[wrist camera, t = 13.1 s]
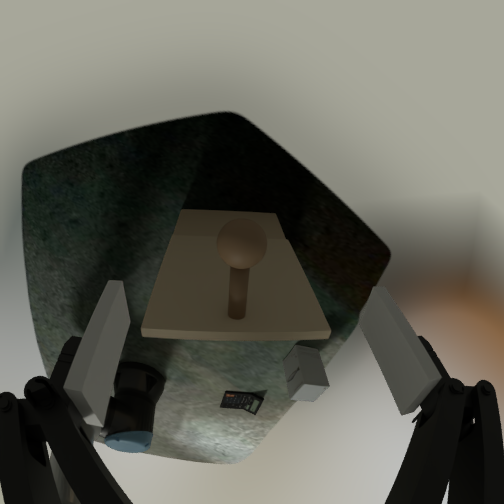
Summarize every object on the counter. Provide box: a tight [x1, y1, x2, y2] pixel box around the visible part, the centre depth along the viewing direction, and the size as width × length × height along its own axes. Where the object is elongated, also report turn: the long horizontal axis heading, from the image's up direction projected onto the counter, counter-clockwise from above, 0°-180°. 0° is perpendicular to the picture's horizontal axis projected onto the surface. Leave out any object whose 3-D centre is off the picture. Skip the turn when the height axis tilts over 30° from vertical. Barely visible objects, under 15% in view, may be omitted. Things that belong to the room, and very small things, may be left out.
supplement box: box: [283, 345, 329, 402], centre depth 70 cm, size 7×7×13 cm
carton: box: [173, 209, 286, 239], centre depth 53 cm, size 17×18×12 cm
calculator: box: [220, 391, 264, 415], centre depth 83 cm, size 9×12×3 cm
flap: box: [141, 218, 331, 341], centre depth 32 cm, size 17×20×10 cm
